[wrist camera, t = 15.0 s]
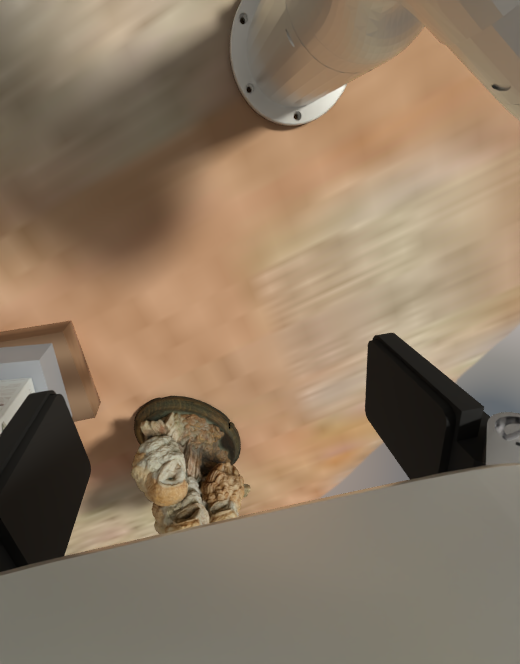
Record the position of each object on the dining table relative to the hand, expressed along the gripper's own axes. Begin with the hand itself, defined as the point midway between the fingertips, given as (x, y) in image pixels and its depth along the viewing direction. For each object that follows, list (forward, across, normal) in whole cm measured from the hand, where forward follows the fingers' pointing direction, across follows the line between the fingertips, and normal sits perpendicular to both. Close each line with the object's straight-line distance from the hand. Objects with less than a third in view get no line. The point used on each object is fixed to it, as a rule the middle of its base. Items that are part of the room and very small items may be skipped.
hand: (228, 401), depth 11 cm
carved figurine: (+34, +6, +29) cm, 45 cm away
